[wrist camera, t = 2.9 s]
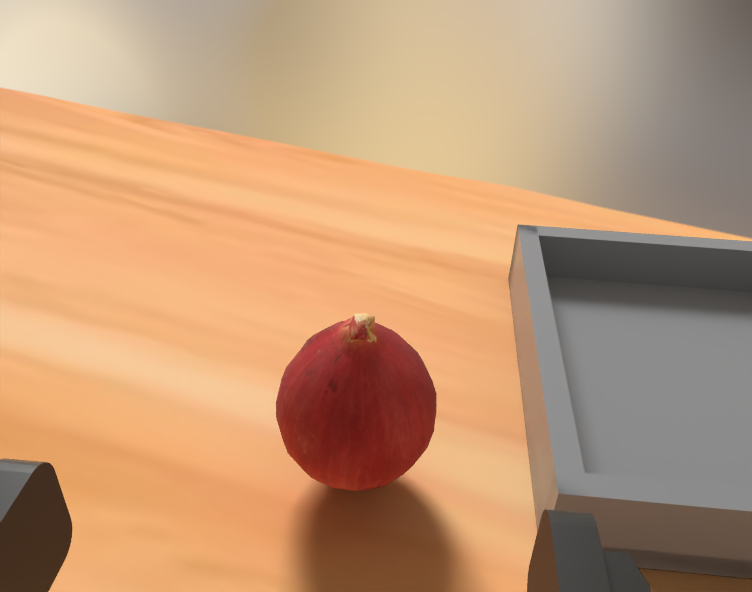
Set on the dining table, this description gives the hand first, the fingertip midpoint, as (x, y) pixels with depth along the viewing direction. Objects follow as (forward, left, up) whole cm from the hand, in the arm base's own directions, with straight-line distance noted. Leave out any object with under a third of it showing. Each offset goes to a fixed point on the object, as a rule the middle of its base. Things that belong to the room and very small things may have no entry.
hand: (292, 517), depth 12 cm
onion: (0, +11, -12) cm, 17 cm away
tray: (+15, +17, -12) cm, 26 cm away
